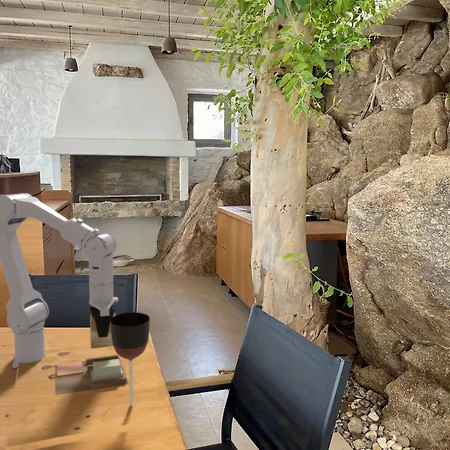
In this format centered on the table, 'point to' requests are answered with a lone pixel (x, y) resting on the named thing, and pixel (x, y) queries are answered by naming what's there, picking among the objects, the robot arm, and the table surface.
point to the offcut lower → (106, 376)
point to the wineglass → (130, 339)
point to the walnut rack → (83, 376)
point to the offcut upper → (106, 367)
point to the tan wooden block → (97, 341)
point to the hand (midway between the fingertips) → (102, 334)
